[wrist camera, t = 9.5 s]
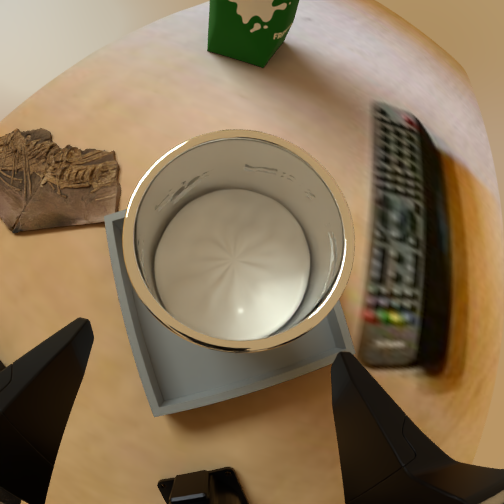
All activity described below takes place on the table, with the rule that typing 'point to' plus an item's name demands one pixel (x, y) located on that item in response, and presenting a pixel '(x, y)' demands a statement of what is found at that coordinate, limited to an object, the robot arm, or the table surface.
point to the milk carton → (249, 28)
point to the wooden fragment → (54, 182)
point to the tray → (210, 361)
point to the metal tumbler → (238, 241)
